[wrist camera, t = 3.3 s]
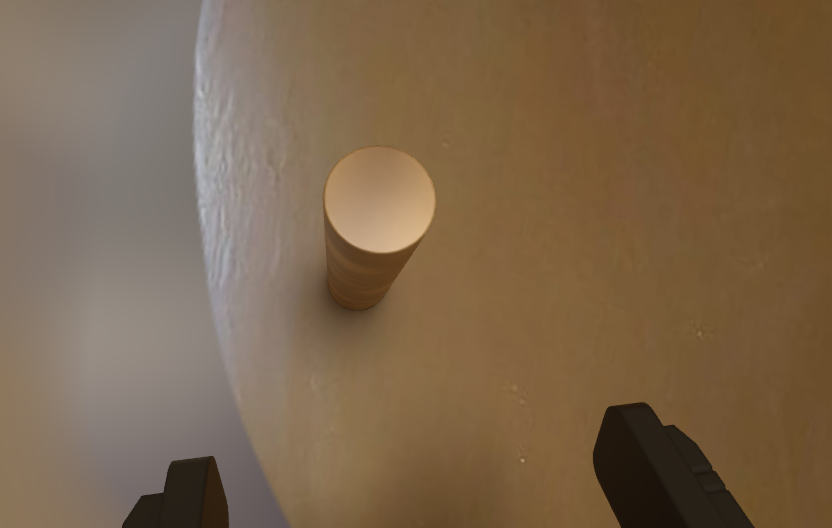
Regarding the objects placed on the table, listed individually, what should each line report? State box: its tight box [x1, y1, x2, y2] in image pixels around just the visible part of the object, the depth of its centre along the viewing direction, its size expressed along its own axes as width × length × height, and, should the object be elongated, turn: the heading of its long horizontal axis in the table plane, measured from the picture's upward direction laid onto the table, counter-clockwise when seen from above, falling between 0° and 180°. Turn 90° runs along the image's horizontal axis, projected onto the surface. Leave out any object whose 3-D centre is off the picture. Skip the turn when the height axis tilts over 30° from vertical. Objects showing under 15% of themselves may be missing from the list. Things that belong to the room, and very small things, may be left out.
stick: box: [323, 146, 436, 310], centre depth 22 cm, size 3×3×14 cm
